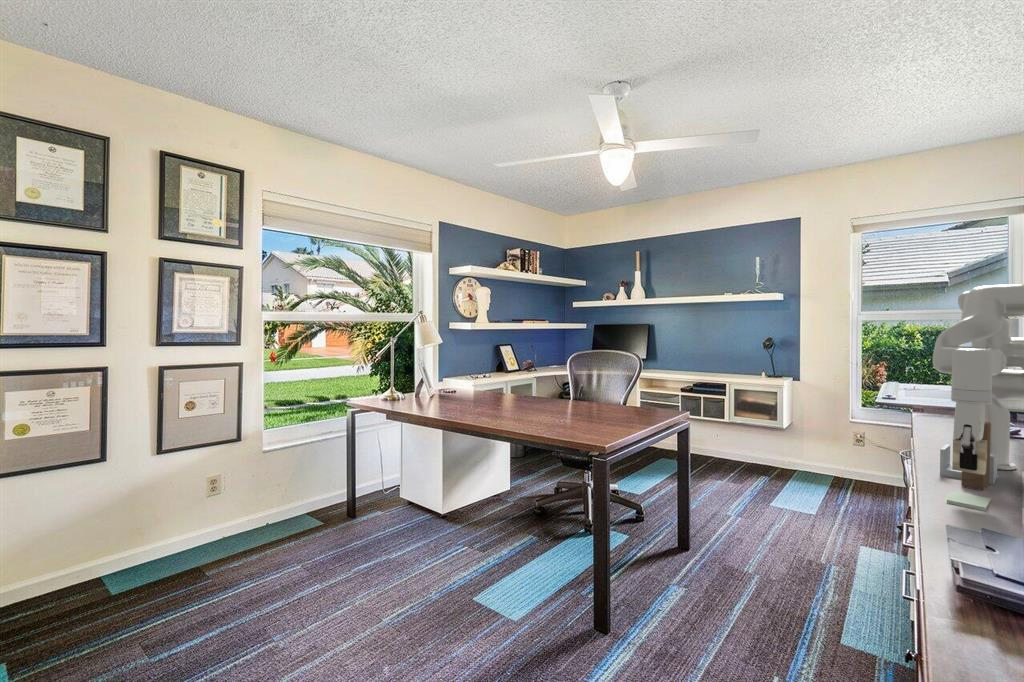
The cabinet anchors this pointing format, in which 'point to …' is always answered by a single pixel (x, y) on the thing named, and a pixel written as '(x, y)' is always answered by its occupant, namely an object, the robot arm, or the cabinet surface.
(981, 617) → the cabinet surface
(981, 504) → the mat
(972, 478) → the wooden block
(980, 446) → the beech block
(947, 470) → the slot guard
